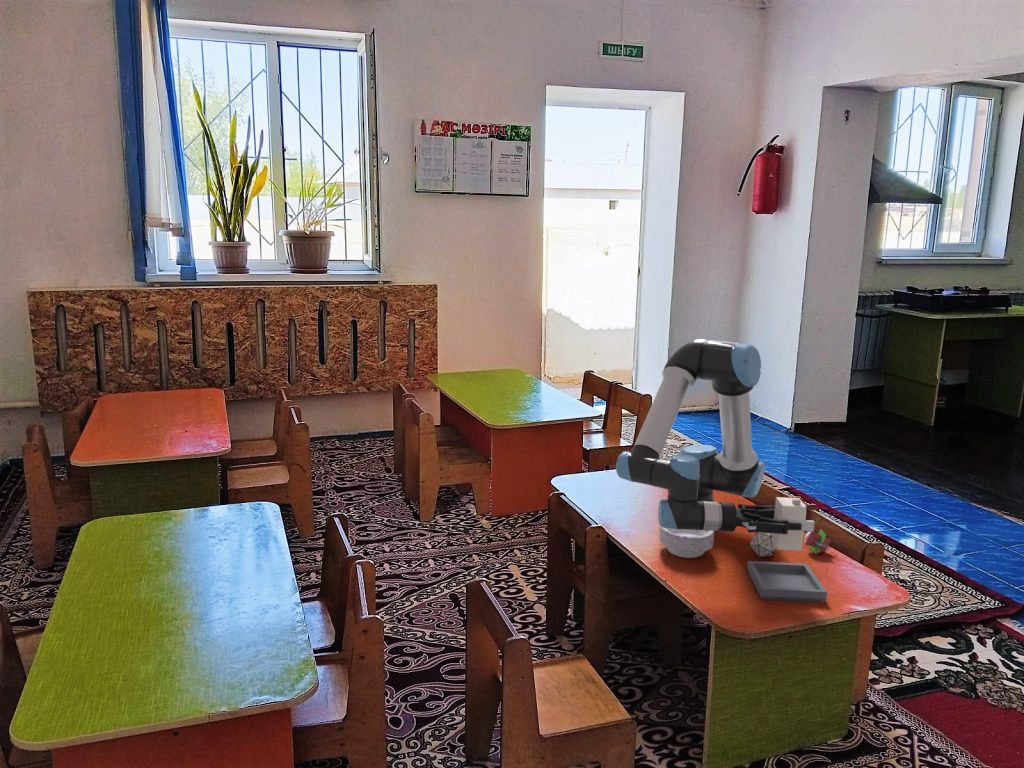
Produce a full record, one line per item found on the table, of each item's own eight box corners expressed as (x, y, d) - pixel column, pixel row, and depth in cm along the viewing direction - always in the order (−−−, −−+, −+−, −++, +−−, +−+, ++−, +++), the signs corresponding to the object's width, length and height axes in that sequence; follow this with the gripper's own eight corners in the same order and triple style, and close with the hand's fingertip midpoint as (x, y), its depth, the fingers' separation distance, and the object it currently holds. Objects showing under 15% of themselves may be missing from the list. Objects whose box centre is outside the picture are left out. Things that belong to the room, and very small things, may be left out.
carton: (771, 539, 204) (776, 493, 201) (794, 540, 203) (799, 494, 200) (777, 549, 198) (782, 502, 195) (801, 550, 197) (806, 503, 194)
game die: (767, 570, 220) (784, 554, 213) (740, 558, 221) (755, 540, 214) (772, 546, 226) (788, 529, 219) (745, 533, 227) (760, 516, 220)
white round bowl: (663, 562, 216) (665, 536, 214) (654, 539, 230) (656, 515, 229) (718, 564, 215) (720, 537, 214) (705, 541, 230) (707, 516, 229)
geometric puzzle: (830, 540, 228) (816, 520, 226) (841, 550, 221) (827, 529, 220) (809, 553, 229) (796, 533, 227) (820, 563, 222) (806, 543, 220)
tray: (746, 571, 211) (747, 561, 211) (805, 573, 211) (806, 563, 210) (762, 599, 196) (763, 588, 195) (825, 602, 195) (827, 592, 194)
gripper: (710, 515, 210) (797, 520, 209) (725, 545, 192) (819, 550, 190) (713, 490, 208) (800, 494, 207) (727, 517, 190) (823, 521, 189)
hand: (809, 520), depth 199 cm, fingers closed on carton, 6 cm apart
